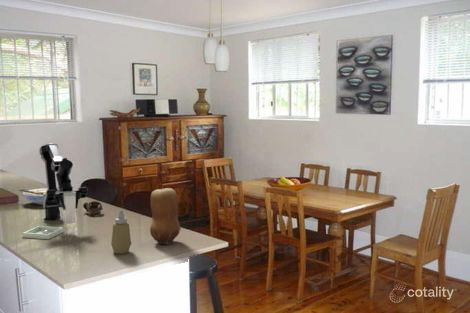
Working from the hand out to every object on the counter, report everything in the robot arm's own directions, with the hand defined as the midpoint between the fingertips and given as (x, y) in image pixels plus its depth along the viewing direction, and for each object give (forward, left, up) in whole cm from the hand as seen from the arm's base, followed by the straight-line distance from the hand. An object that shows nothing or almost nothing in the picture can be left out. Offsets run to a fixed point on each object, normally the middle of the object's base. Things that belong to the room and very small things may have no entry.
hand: (70, 208), depth 207 cm
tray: (-12, -3, -13) cm, 18 cm away
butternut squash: (+46, -1, -13) cm, 48 cm away
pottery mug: (-10, +42, -13) cm, 45 cm away
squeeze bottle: (+32, -17, -13) cm, 38 cm away
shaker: (-1, +1, -7) cm, 7 cm away
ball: (-9, -6, -12) cm, 16 cm away
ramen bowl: (-50, +58, -13) cm, 78 cm away
